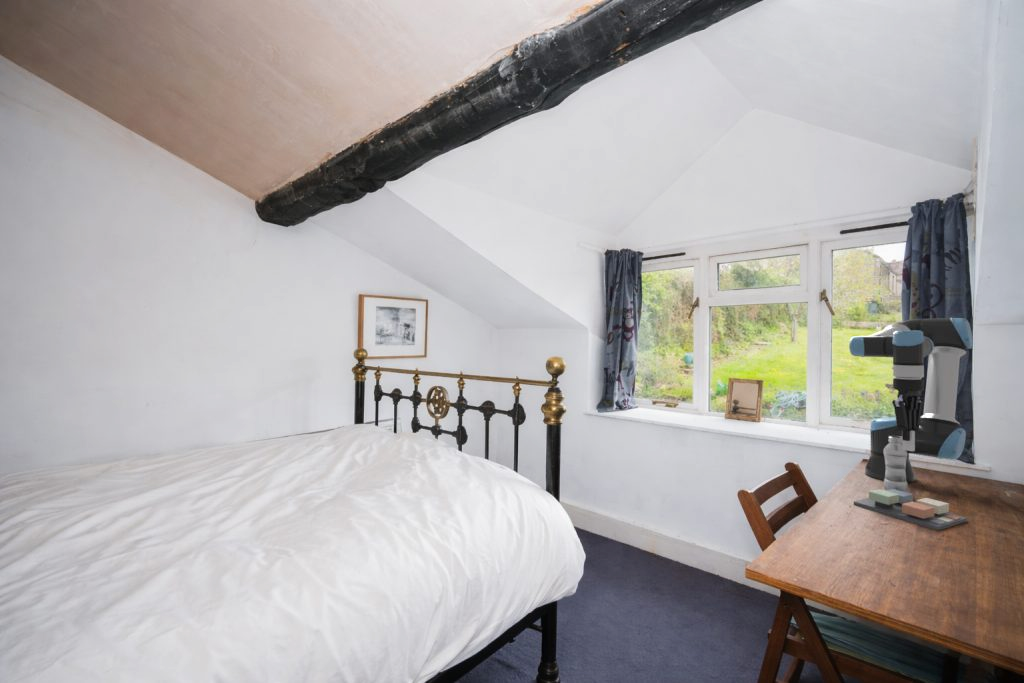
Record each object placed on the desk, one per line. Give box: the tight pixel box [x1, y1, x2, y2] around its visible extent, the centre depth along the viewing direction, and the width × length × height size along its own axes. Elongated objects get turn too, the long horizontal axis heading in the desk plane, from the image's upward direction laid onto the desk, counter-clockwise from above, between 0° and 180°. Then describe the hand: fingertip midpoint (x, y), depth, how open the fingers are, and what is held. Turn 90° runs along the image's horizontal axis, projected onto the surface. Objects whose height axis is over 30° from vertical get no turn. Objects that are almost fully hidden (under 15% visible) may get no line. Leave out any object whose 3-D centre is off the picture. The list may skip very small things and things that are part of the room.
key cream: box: [916, 497, 950, 514], centre depth 139 cm, size 6×6×2 cm
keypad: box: [853, 497, 968, 531], centre depth 142 cm, size 16×22×3 cm
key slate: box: [887, 489, 914, 504], centre depth 148 cm, size 6×6×2 cm
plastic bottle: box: [882, 436, 909, 493], centre depth 159 cm, size 6×7×20 cm
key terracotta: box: [902, 500, 934, 519], centre depth 136 cm, size 6×6×2 cm
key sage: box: [868, 488, 899, 505], centre depth 145 cm, size 6×6×2 cm
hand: (908, 450), depth 147 cm, fingers closed
